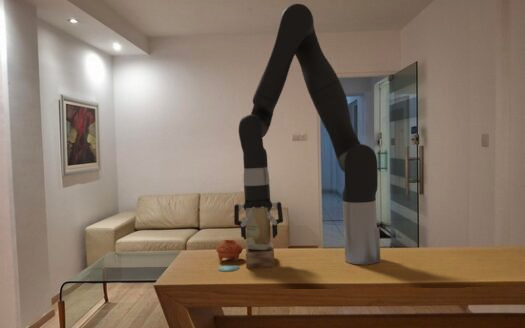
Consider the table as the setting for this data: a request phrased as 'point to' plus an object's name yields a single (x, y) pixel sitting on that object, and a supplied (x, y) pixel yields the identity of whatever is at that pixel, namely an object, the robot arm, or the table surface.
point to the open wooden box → (260, 258)
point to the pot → (229, 250)
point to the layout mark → (228, 268)
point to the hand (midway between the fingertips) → (259, 238)
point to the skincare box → (258, 229)
